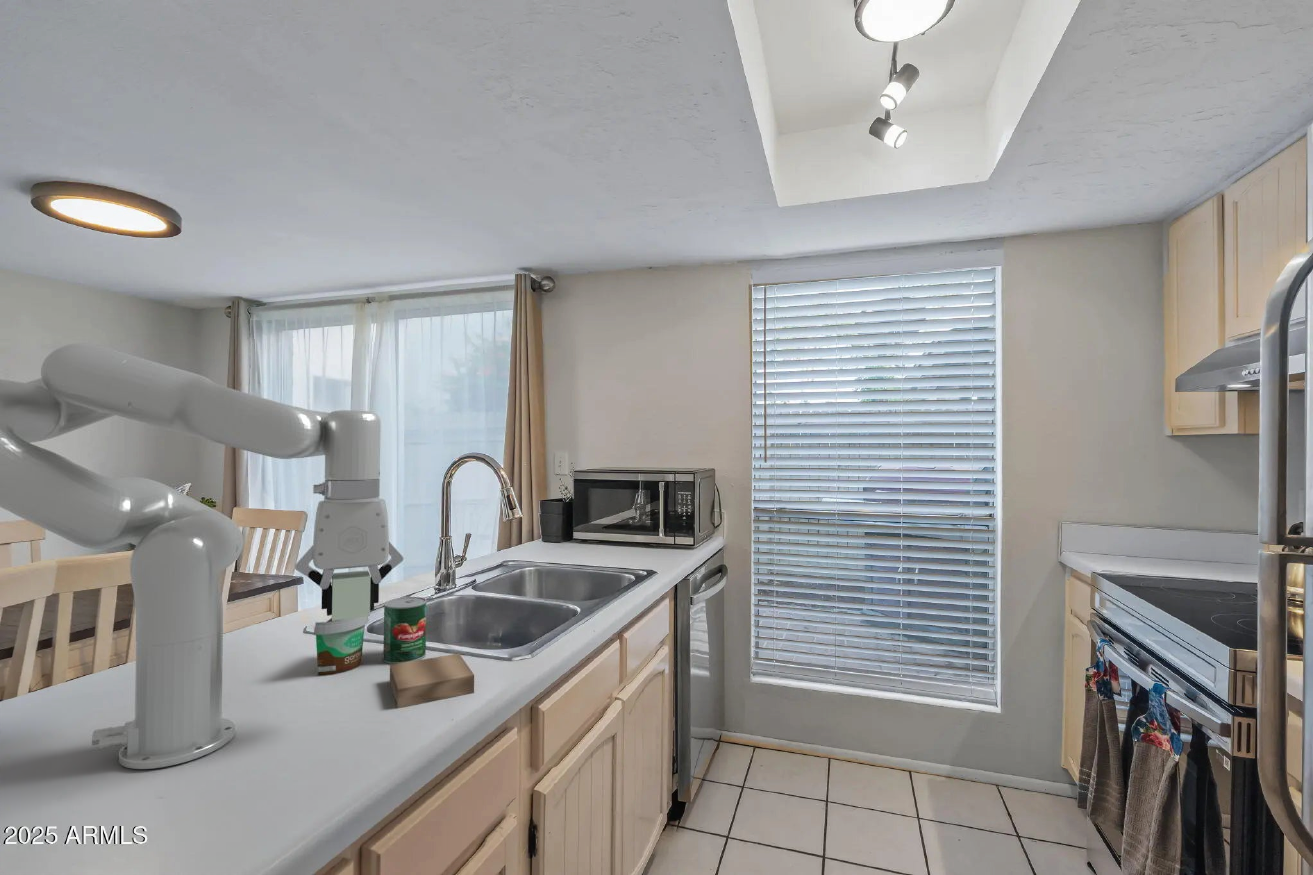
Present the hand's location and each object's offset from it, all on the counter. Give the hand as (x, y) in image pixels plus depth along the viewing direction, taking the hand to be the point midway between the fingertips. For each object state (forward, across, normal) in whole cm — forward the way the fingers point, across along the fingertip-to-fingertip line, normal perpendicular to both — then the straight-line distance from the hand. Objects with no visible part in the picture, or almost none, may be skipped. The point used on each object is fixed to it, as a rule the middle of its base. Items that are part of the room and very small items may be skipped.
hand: (350, 609), depth 90 cm
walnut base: (+17, +13, +8) cm, 23 cm away
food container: (+18, +1, +26) cm, 31 cm away
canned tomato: (+17, +11, +26) cm, 33 cm away
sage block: (+1, 0, 0) cm, 1 cm away
